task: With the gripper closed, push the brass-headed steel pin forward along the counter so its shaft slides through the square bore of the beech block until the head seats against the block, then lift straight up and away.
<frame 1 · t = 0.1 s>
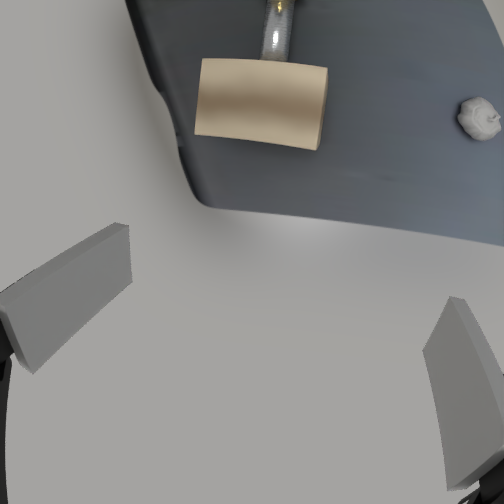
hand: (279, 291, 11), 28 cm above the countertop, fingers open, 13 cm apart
pin: (277, 31, 27), point 4 cm above the countertop, slide at 0.0 cm
bore block: (274, 105, 34), on the countertop
garlic: (471, 118, 28), on the countertop
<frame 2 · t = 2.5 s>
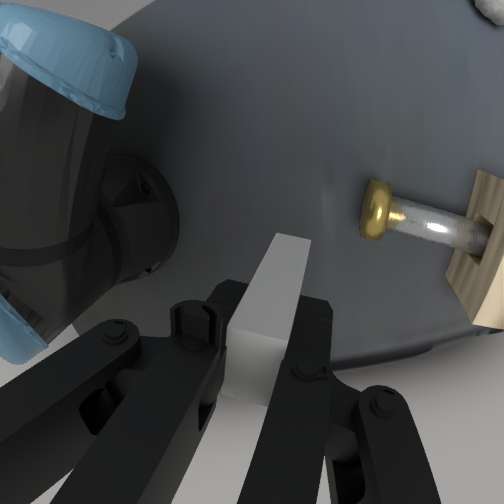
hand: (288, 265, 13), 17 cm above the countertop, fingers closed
pin: (436, 225, 23), point 4 cm above the countertop, slide at 0.0 cm
bore block: (490, 233, 25), on the countertop
garlic: (485, 5, 15), on the countertop
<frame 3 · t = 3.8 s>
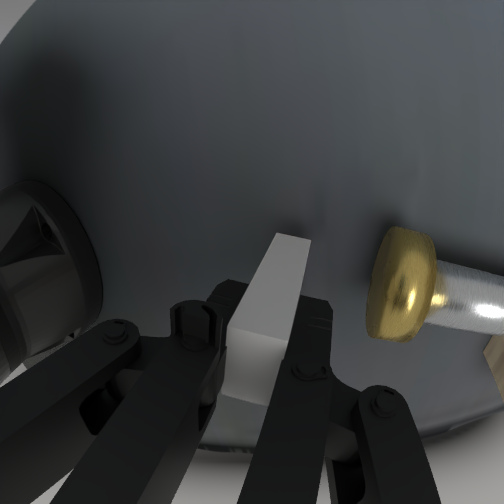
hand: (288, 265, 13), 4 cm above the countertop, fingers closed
pin: (495, 305, 12), point 4 cm above the countertop, slide at 0.0 cm
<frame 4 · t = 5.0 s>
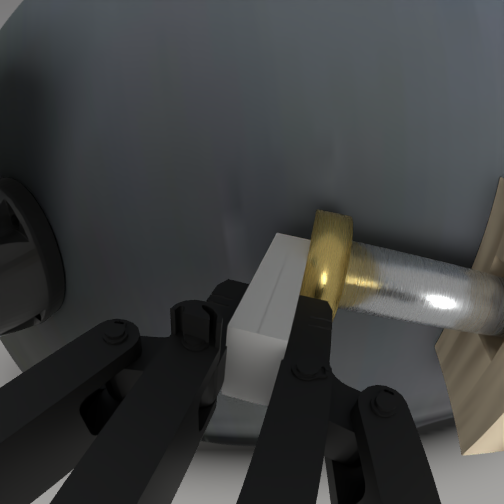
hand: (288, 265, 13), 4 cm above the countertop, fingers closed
pin: (442, 295, 12), point 4 cm above the countertop, slide at 1.2 cm, touching gripper
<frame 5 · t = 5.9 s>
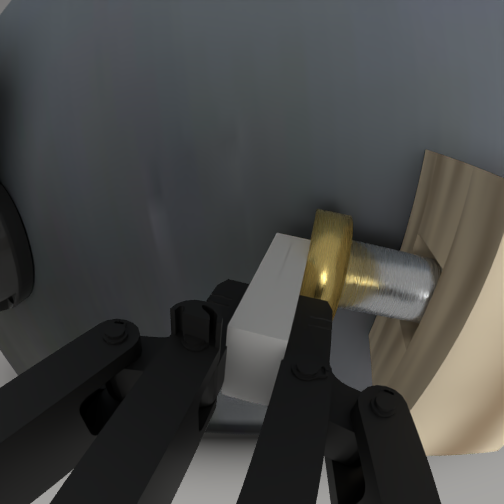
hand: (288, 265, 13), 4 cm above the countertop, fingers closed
pin: (442, 294, 12), point 4 cm above the countertop, slide at 6.3 cm, touching gripper
bore block: (456, 266, 15), on the countertop
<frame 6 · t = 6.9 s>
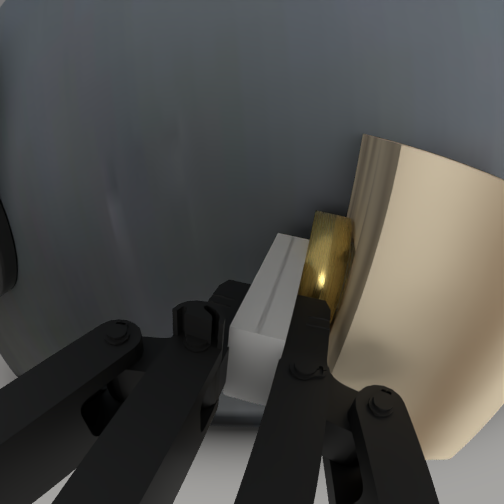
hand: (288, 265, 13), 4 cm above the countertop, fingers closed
pin: (441, 297, 12), point 4 cm above the countertop, slide at 9.8 cm
bore block: (406, 257, 16), on the countertop
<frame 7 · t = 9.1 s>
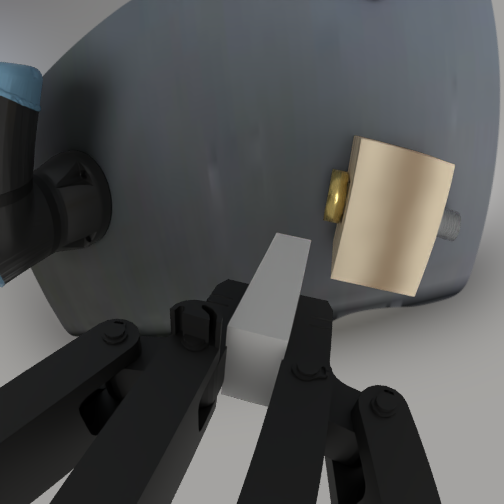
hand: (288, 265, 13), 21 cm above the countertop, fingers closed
pin: (395, 210, 27), point 4 cm above the countertop, slide at 9.8 cm
bore block: (379, 198, 31), on the countertop
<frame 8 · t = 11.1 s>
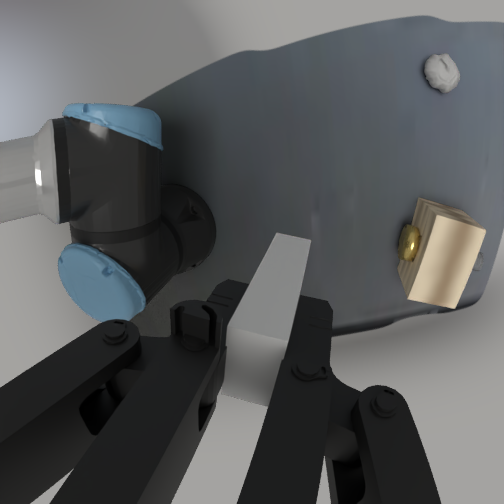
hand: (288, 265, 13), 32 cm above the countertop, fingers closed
pin: (443, 252, 38), point 4 cm above the countertop, slide at 9.8 cm
bore block: (430, 240, 42), on the countertop
garlic: (436, 74, 32), on the countertop
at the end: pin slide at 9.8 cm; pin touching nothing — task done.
